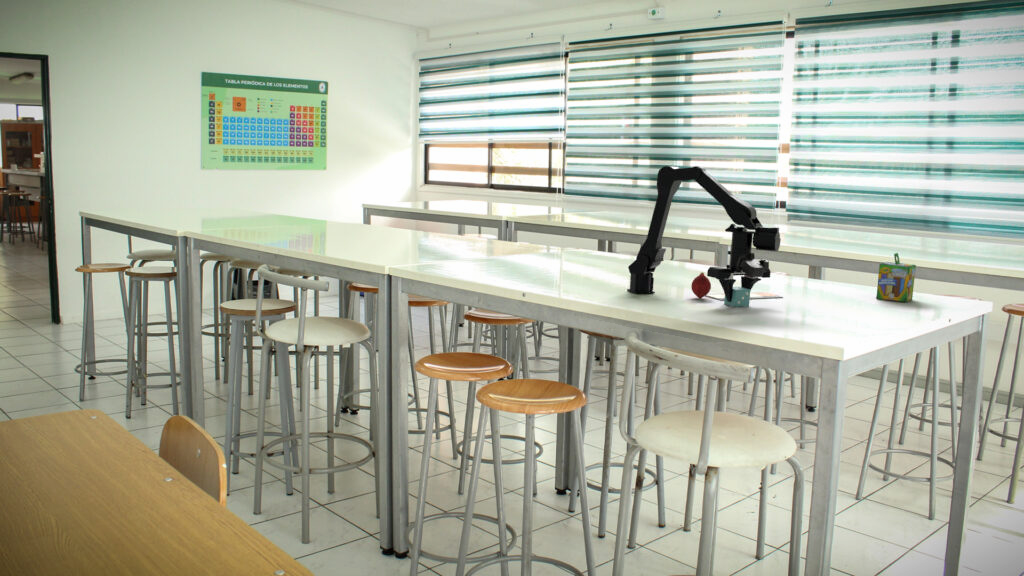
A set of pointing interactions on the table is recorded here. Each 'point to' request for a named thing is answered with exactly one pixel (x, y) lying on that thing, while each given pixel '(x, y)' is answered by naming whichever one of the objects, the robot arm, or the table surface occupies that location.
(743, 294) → the die
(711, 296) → the board
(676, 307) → the table surface
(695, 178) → the robot arm
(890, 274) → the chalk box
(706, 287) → the onion
